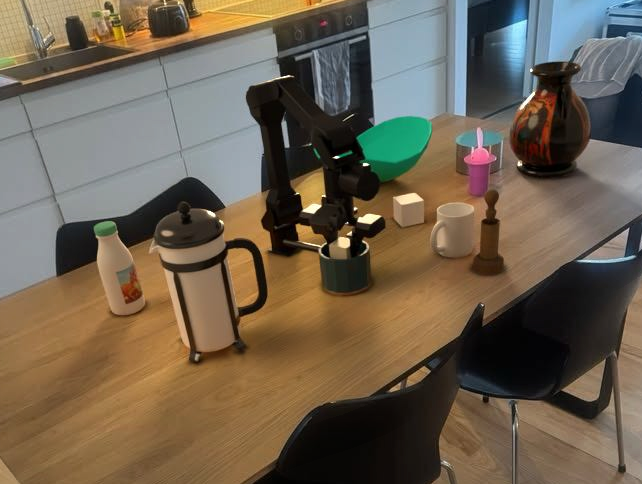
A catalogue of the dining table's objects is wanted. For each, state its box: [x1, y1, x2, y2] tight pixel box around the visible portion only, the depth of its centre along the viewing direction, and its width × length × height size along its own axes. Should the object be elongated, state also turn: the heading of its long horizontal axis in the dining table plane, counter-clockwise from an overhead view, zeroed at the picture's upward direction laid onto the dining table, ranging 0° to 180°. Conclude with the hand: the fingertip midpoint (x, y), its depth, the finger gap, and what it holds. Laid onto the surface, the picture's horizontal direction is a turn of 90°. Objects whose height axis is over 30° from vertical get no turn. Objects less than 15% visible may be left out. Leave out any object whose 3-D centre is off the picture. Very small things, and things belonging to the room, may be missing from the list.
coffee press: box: [148, 201, 269, 364], centre depth 129 cm, size 17×16×30 cm
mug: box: [429, 202, 475, 259], centre depth 156 cm, size 12×8×10 cm
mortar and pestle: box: [472, 188, 505, 275], centre depth 146 cm, size 7×6×18 cm
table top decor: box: [313, 115, 433, 183], centre depth 200 cm, size 40×28×13 cm
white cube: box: [392, 192, 425, 228], centre depth 175 cm, size 6×6×6 cm
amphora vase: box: [508, 61, 592, 180], centre depth 187 cm, size 22×22×28 cm
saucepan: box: [283, 239, 372, 296], centre depth 153 cm, size 11×22×8 cm, turn 54°
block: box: [329, 236, 359, 259], centre depth 148 cm, size 4×4×4 cm
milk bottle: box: [93, 220, 146, 316], centre depth 148 cm, size 8×8×20 cm
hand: (344, 257), depth 149 cm, fingers open, 5 cm apart
